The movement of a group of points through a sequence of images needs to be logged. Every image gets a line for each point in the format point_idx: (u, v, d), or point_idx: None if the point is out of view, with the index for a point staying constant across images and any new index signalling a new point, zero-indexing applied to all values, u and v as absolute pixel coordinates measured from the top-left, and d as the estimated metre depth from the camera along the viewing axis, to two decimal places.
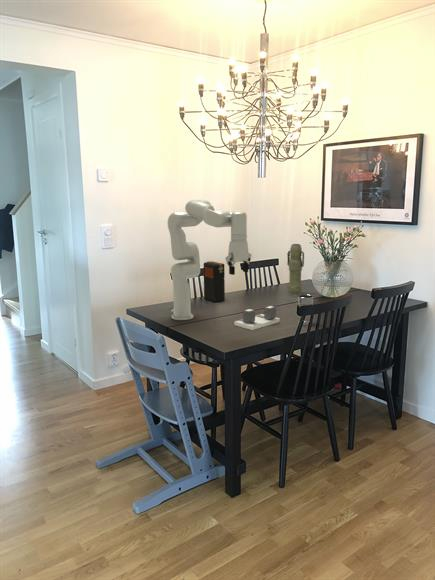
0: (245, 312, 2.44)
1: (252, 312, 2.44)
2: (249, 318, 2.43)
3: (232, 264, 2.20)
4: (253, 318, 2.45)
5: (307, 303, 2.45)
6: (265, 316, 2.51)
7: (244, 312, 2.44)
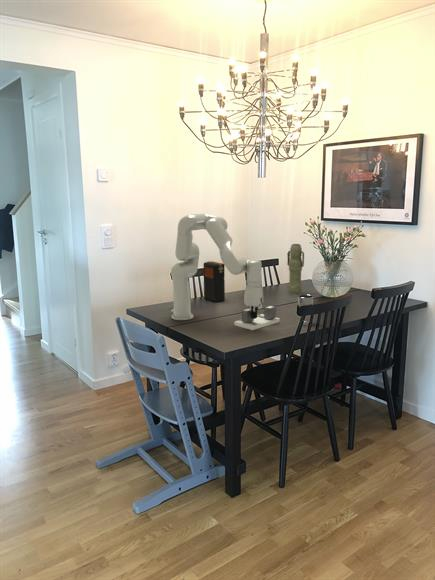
0: (244, 312, 2.44)
1: None
2: (248, 317, 2.44)
3: (258, 309, 2.42)
4: None
5: (307, 303, 2.45)
6: (265, 316, 2.51)
7: (243, 312, 2.45)
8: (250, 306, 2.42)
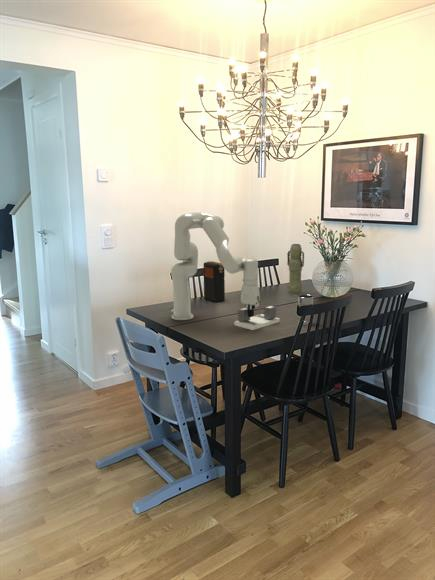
0: (240, 311, 2.46)
1: (247, 311, 2.47)
2: (244, 316, 2.46)
3: (254, 307, 2.44)
4: (248, 317, 2.48)
5: (307, 303, 2.45)
6: (265, 316, 2.51)
7: (239, 311, 2.47)
8: (247, 304, 2.44)
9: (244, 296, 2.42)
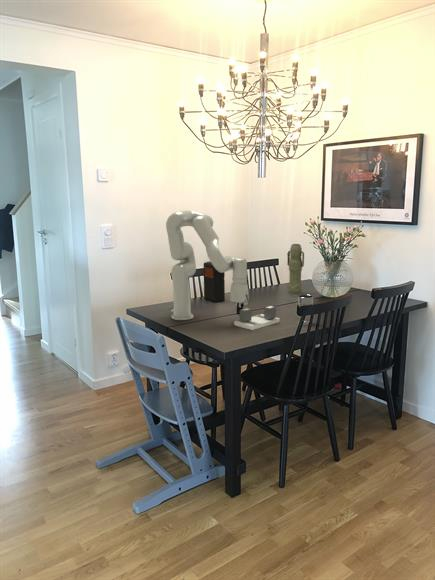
0: (241, 311, 2.46)
1: (248, 311, 2.46)
2: (245, 317, 2.45)
3: (243, 305, 2.50)
4: (249, 317, 2.47)
5: (307, 303, 2.45)
6: (265, 316, 2.51)
7: (240, 311, 2.46)
8: (236, 302, 2.49)
9: (233, 294, 2.48)
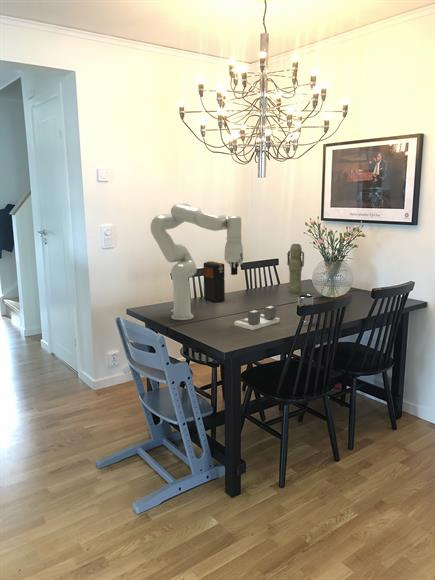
0: (250, 313, 2.41)
1: (257, 313, 2.42)
2: (254, 319, 2.41)
3: (238, 265, 2.44)
4: (258, 319, 2.43)
5: (307, 303, 2.45)
6: (265, 316, 2.51)
7: (249, 313, 2.42)
8: (230, 262, 2.44)
9: (228, 254, 2.43)
